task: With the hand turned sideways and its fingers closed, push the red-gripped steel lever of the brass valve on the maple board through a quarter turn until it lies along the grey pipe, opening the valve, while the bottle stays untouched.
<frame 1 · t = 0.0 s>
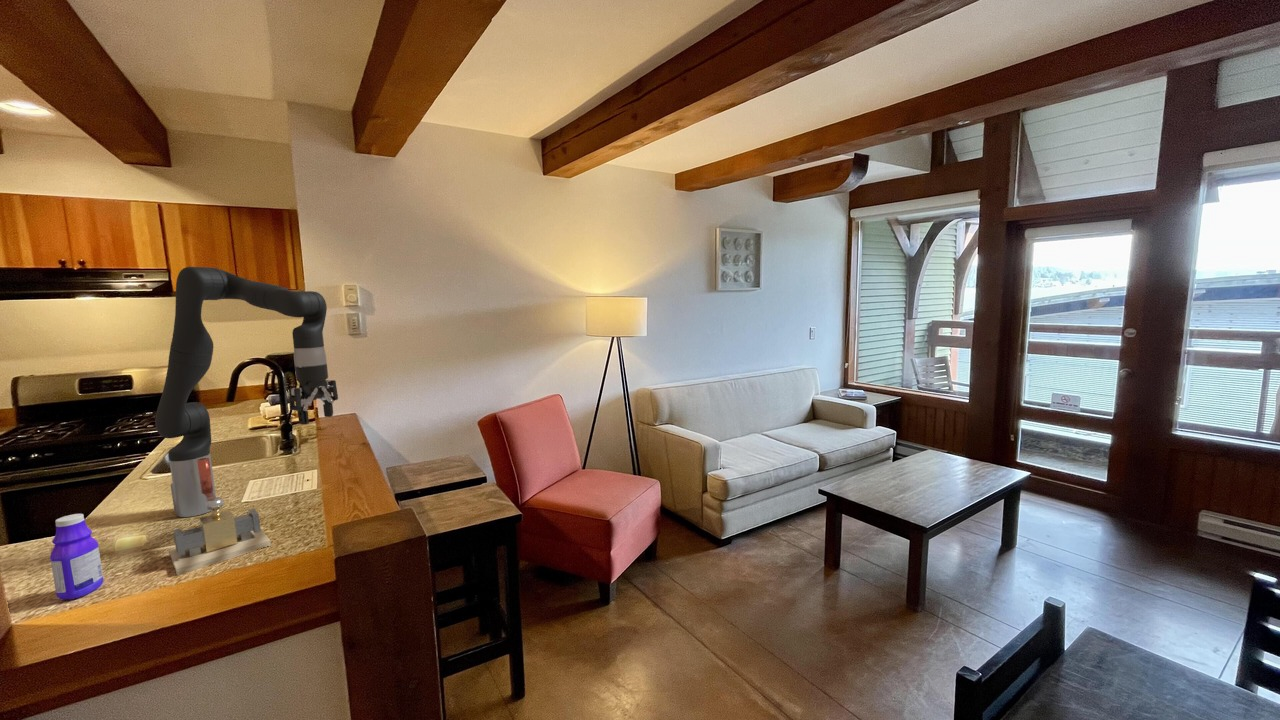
hand: (316, 420, 141), 29 cm above the countertop, tool pointing down, fingers open, 8 cm apart
valve lever: (209, 482, 129), point 17 cm above the countertop, hinge at 0.0°
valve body: (217, 526, 127), on the valve board, point 6 cm above the countertop
valve board: (221, 550, 127), on the countertop
bottle: (82, 593, 110), on the countertop
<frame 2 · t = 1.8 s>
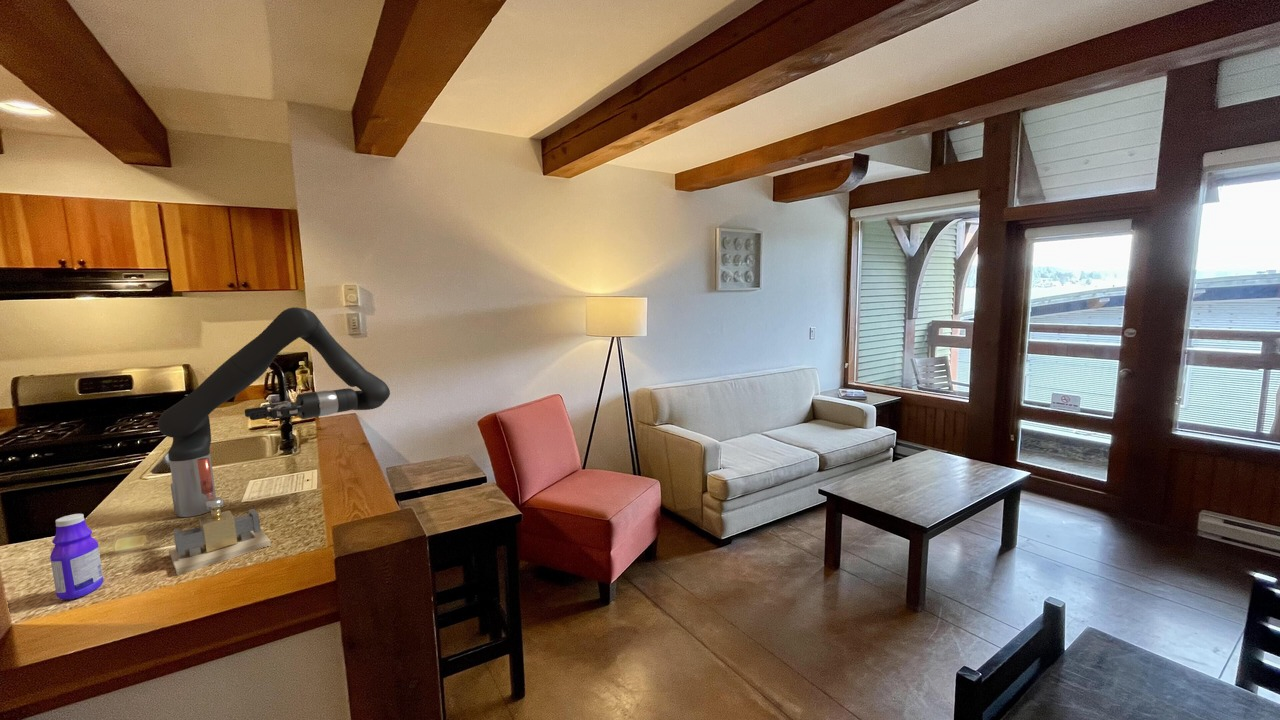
hand: (247, 414, 138), 32 cm above the countertop, tool horizontal, fingers open, 5 cm apart
nothing on the countertop moved.
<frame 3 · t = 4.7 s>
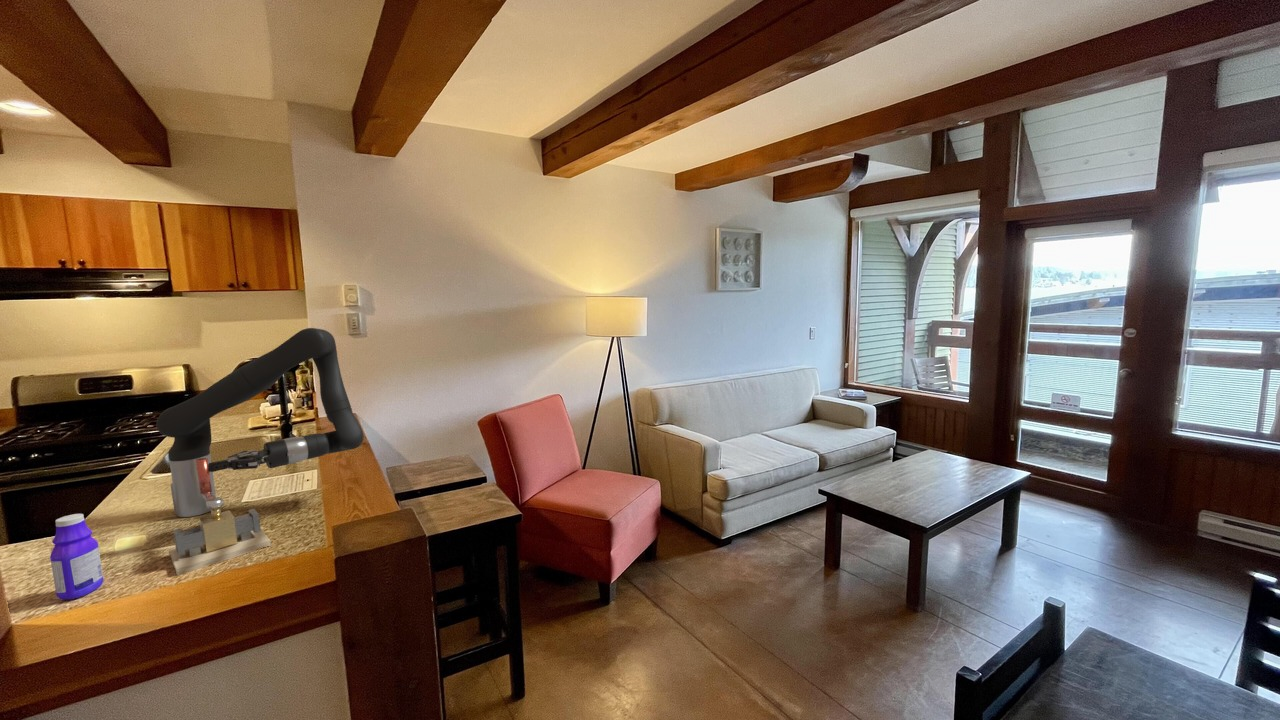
hand: (208, 467, 132), 19 cm above the countertop, tool horizontal, fingers closed
valve lever: (208, 482, 128), point 17 cm above the countertop, hinge at 1.6°, touching gripper
everything else where it was.
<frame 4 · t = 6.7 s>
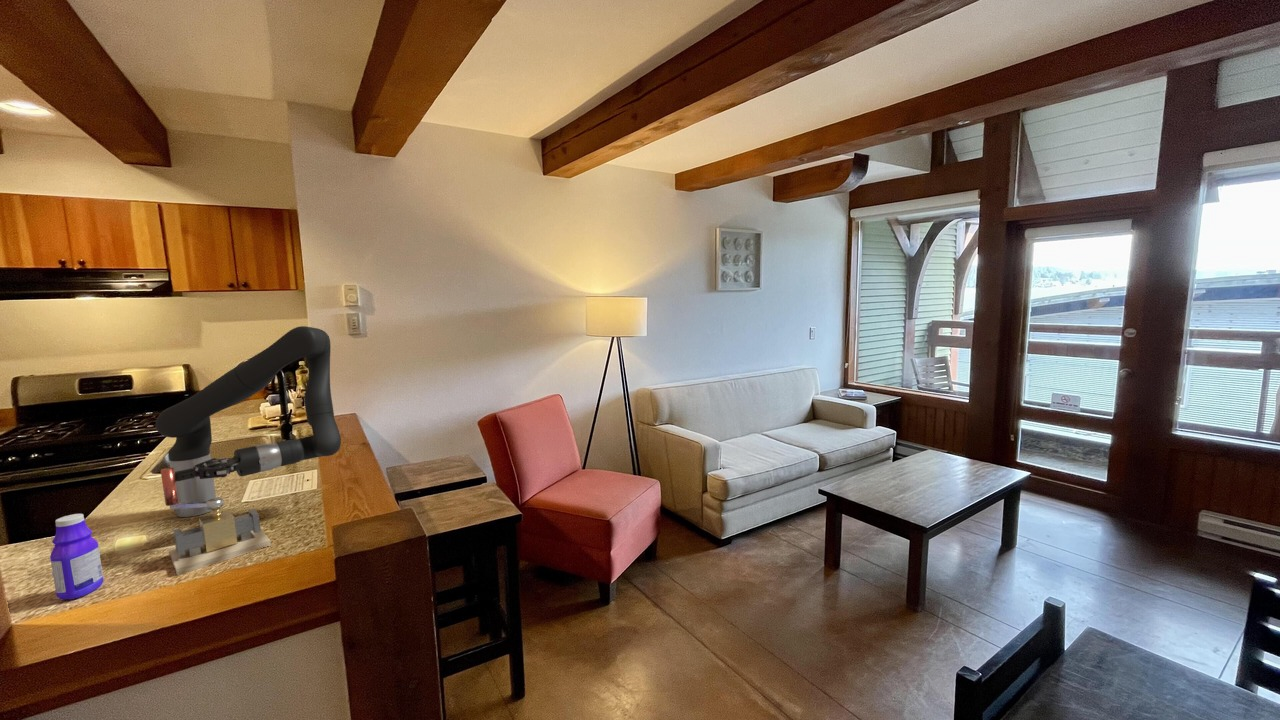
hand: (174, 477, 126), 19 cm above the countertop, tool horizontal, fingers closed
valve lever: (192, 488, 125), point 17 cm above the countertop, hinge at 46.1°, touching gripper
everything else where it was.
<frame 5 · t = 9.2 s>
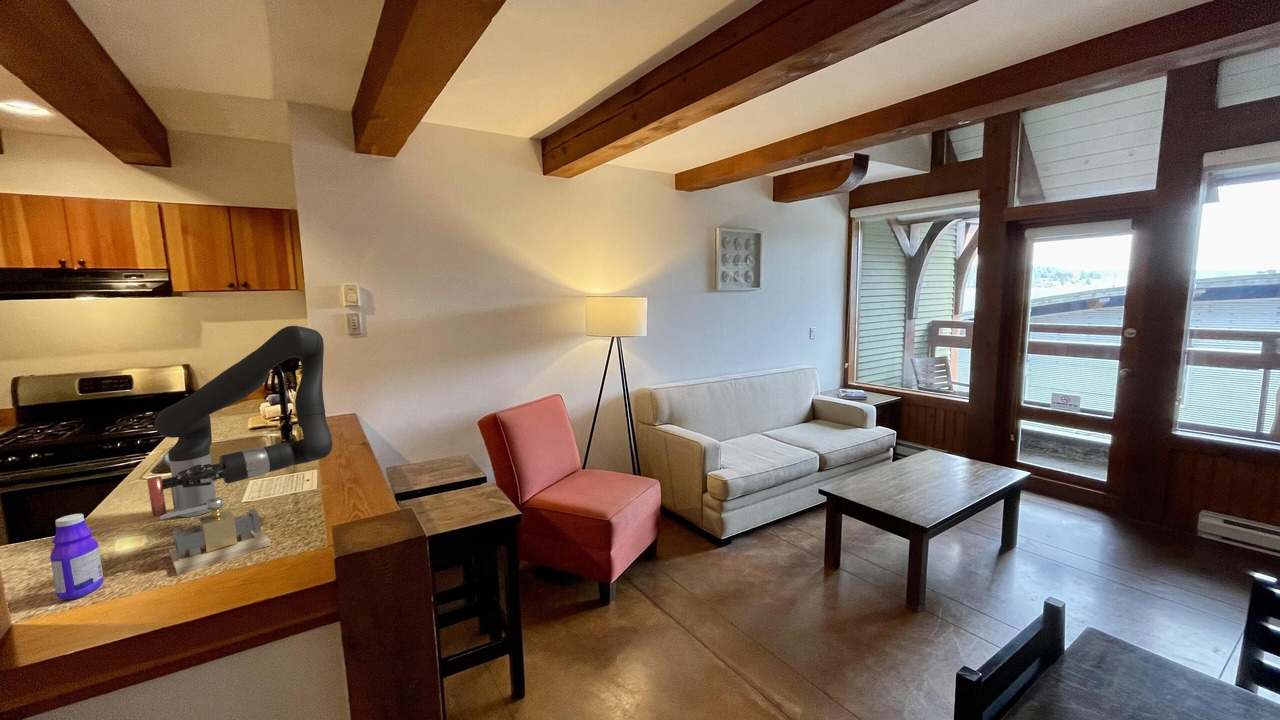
hand: (155, 486, 119), 20 cm above the countertop, tool horizontal, fingers closed
valve lever: (186, 492, 122), point 17 cm above the countertop, hinge at 87.3°, touching gripper
everything else where it was.
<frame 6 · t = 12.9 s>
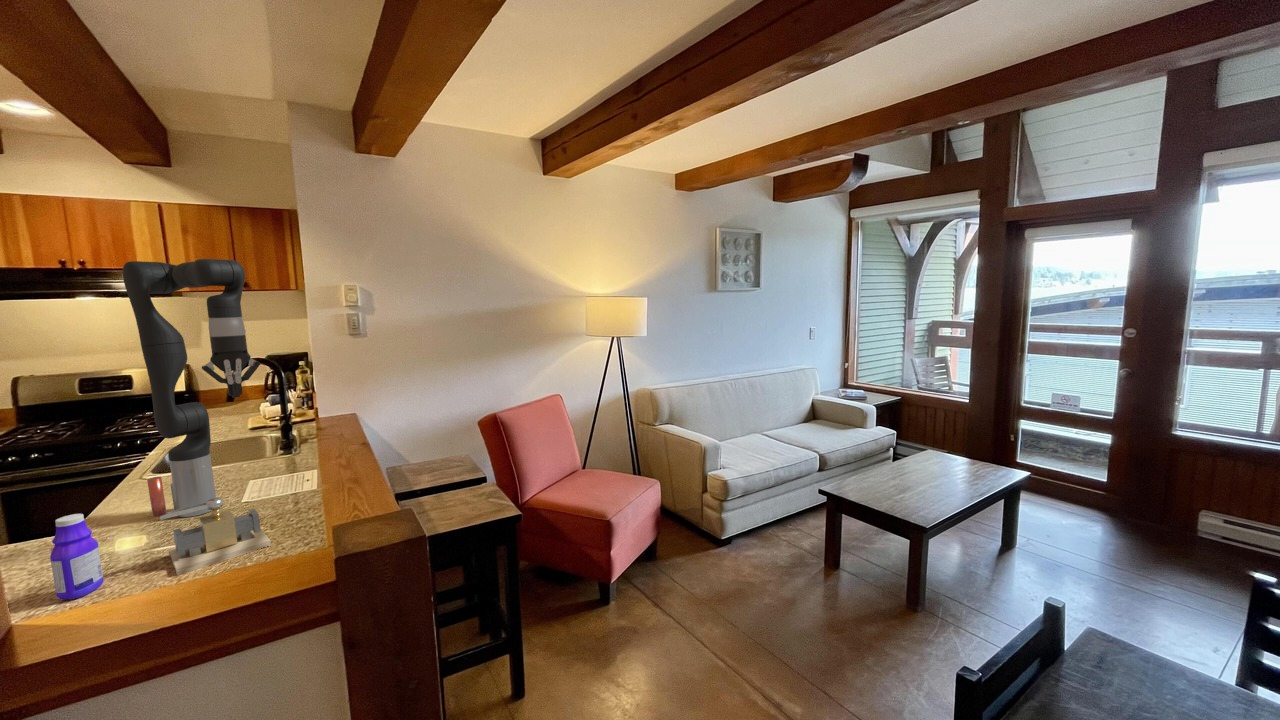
hand: (235, 397, 137), 37 cm above the countertop, tool pointing down, fingers closed
valve lever: (186, 492, 122), point 17 cm above the countertop, hinge at 88.9°
everything else where it was.
at the end: valve lever at +89° (first picture: +0°); bottle moved 0.2 cm from its start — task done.
